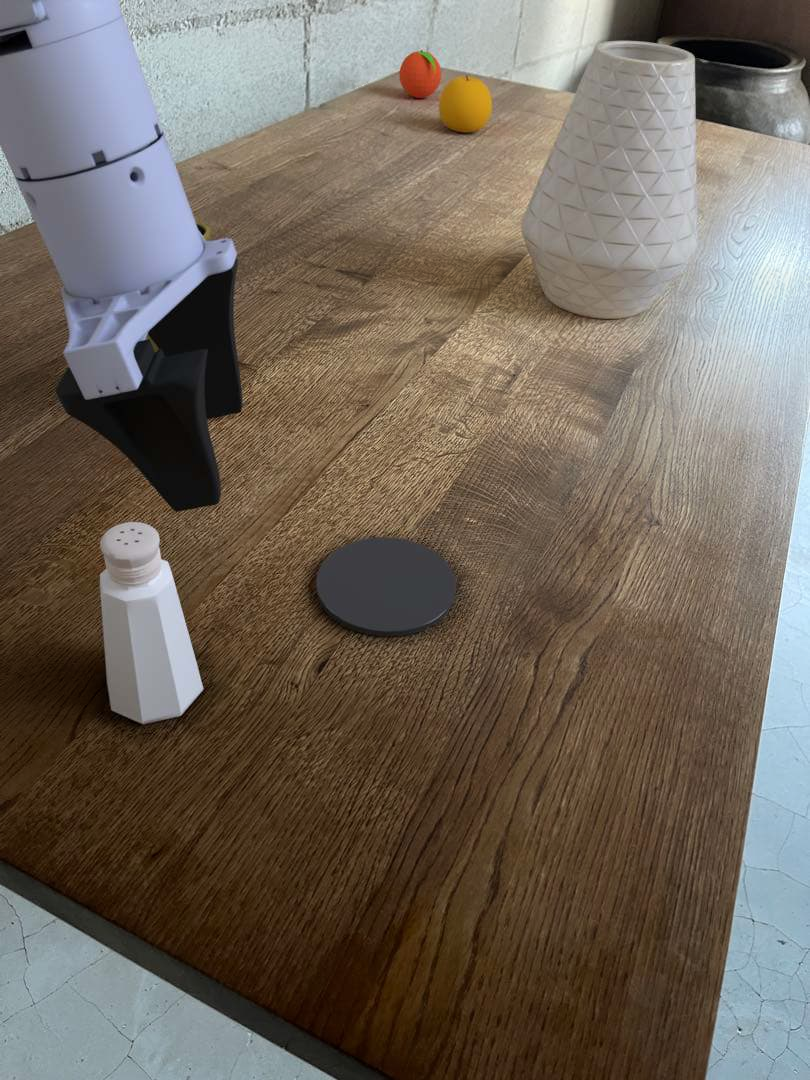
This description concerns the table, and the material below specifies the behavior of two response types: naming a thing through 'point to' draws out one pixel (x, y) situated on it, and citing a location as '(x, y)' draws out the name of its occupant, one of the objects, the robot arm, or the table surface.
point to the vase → (619, 184)
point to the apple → (465, 104)
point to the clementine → (420, 74)
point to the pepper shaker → (144, 629)
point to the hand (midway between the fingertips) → (211, 455)
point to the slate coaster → (386, 586)
